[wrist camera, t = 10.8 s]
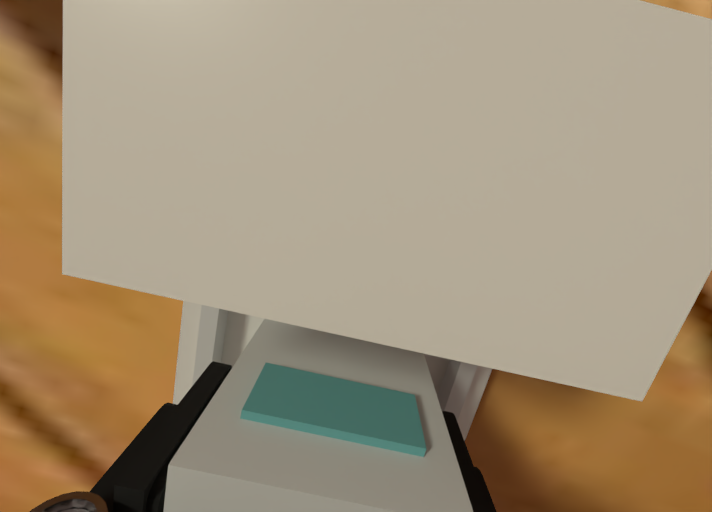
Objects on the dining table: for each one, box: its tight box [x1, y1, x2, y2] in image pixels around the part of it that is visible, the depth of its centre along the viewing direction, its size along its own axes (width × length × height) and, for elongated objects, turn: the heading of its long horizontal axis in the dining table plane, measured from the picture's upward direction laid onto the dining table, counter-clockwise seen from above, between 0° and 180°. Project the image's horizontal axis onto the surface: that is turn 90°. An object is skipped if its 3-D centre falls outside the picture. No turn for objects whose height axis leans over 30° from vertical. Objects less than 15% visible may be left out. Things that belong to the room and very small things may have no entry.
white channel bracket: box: [62, 0, 712, 442], centre depth 10 cm, size 20×12×8 cm, turn 167°
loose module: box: [163, 319, 473, 512], centre depth 9 cm, size 5×5×7 cm
